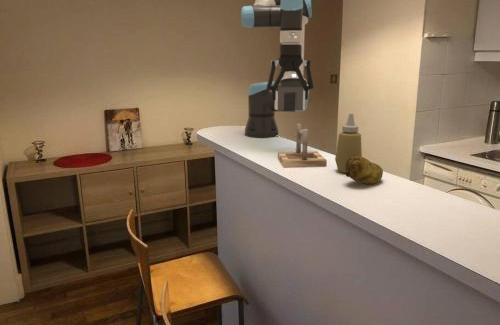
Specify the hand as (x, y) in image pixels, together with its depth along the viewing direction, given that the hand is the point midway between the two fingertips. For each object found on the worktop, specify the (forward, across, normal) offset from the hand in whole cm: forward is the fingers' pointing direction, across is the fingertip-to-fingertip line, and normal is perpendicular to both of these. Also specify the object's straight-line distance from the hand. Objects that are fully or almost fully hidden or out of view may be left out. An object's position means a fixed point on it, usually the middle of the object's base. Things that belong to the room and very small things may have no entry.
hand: (289, 109), depth 149 cm
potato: (+16, +15, -38) cm, 44 cm away
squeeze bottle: (+16, +14, -26) cm, 34 cm away
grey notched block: (0, 0, 0) cm, 0 cm away
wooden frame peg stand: (+16, +2, -14) cm, 21 cm away
